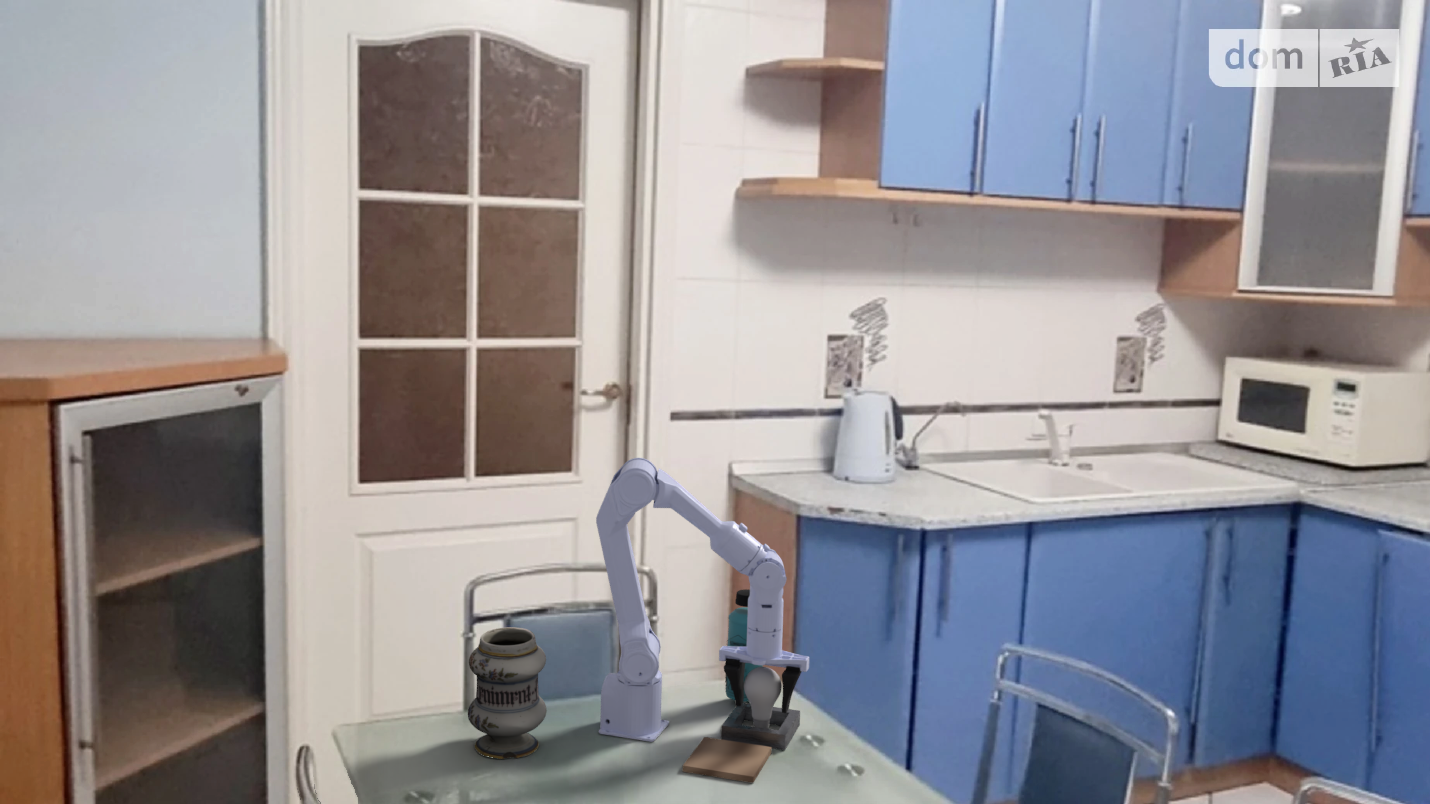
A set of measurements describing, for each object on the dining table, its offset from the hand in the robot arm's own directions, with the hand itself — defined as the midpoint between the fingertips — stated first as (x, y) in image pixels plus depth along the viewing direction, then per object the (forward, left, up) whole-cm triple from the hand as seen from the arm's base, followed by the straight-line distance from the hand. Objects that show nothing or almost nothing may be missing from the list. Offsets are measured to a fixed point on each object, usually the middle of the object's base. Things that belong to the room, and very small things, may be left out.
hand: (762, 707), depth 195 cm
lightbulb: (0, 0, -5) cm, 5 cm away
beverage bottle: (-6, +11, -5) cm, 13 cm away
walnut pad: (-2, -13, -4) cm, 13 cm away
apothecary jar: (-36, -19, -5) cm, 41 cm away
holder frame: (0, 0, -4) cm, 4 cm away
